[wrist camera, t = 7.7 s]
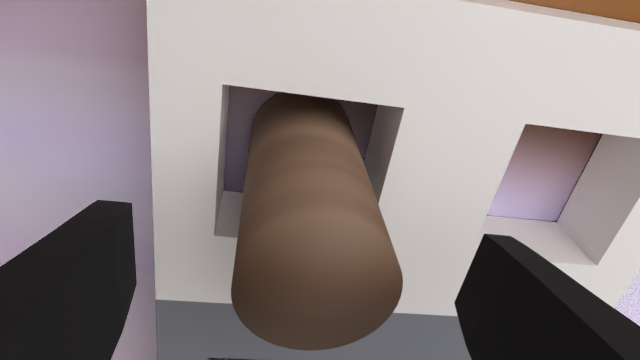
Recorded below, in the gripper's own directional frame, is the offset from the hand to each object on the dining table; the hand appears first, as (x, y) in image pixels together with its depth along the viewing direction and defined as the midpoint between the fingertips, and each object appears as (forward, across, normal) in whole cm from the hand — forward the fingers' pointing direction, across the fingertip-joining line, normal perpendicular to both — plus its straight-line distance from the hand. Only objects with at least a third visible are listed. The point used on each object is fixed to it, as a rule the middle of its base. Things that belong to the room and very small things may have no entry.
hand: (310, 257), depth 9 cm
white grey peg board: (+6, -4, +5) cm, 9 cm away
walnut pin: (+6, 0, 0) cm, 6 cm away
